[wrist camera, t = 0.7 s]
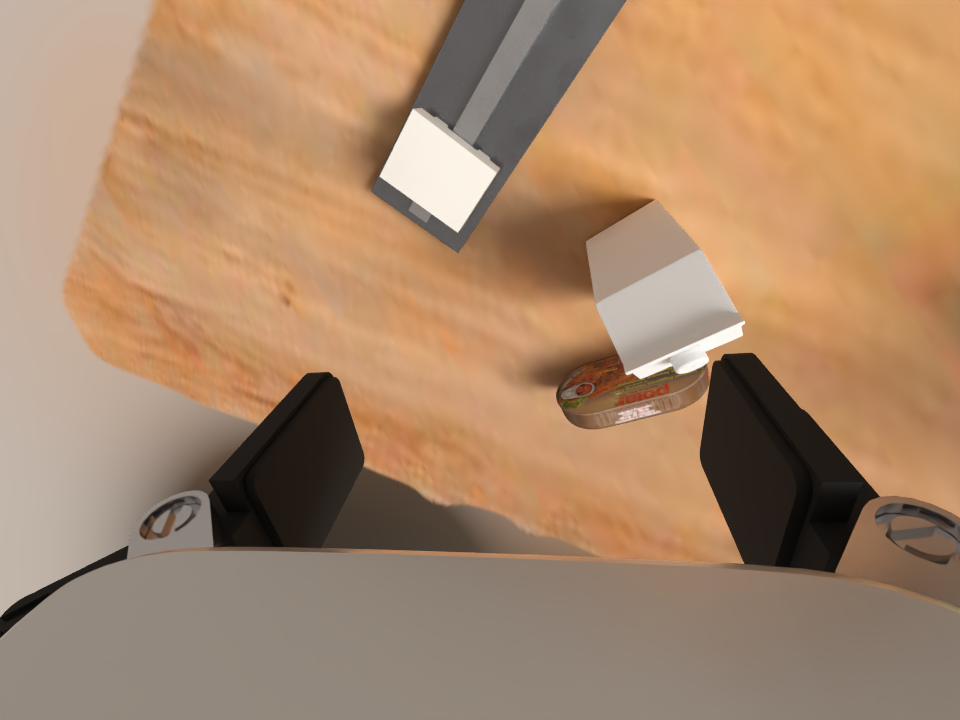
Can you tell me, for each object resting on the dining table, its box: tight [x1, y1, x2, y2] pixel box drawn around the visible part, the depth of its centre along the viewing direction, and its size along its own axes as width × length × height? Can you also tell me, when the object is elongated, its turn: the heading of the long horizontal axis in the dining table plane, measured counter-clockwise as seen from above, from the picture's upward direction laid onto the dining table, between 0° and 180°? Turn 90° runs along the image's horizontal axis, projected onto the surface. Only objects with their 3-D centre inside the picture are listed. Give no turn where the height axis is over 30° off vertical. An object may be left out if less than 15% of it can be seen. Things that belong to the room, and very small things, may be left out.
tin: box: [556, 355, 709, 429], centre depth 45 cm, size 15×3×8 cm, turn 115°
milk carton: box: [586, 200, 745, 379], centre depth 34 cm, size 7×7×19 cm
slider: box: [380, 108, 500, 233], centre depth 37 cm, size 6×8×4 cm
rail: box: [371, 0, 626, 253], centre depth 34 cm, size 28×10×5 cm, turn 146°
